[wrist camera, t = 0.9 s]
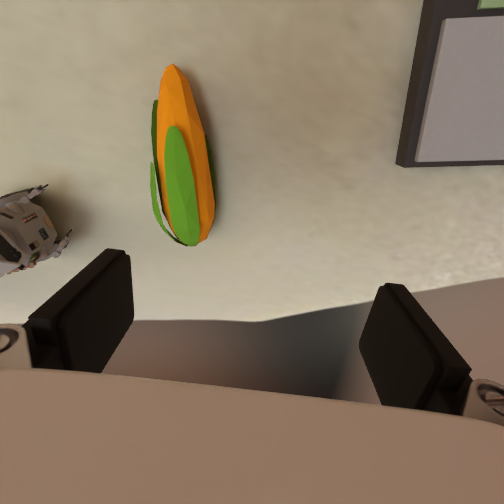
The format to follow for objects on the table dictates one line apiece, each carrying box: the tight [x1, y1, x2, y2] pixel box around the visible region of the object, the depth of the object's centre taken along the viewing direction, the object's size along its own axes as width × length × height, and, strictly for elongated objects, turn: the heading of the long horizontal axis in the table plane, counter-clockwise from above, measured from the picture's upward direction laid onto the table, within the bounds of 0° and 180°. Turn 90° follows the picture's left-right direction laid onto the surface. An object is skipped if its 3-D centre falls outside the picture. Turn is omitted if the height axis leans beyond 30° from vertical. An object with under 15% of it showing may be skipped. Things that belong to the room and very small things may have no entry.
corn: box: [150, 64, 216, 246], centre depth 34 cm, size 7×8×20 cm
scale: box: [395, 0, 504, 167], centre depth 31 cm, size 16×14×3 cm
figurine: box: [0, 184, 73, 277], centre depth 34 cm, size 9×12×15 cm
